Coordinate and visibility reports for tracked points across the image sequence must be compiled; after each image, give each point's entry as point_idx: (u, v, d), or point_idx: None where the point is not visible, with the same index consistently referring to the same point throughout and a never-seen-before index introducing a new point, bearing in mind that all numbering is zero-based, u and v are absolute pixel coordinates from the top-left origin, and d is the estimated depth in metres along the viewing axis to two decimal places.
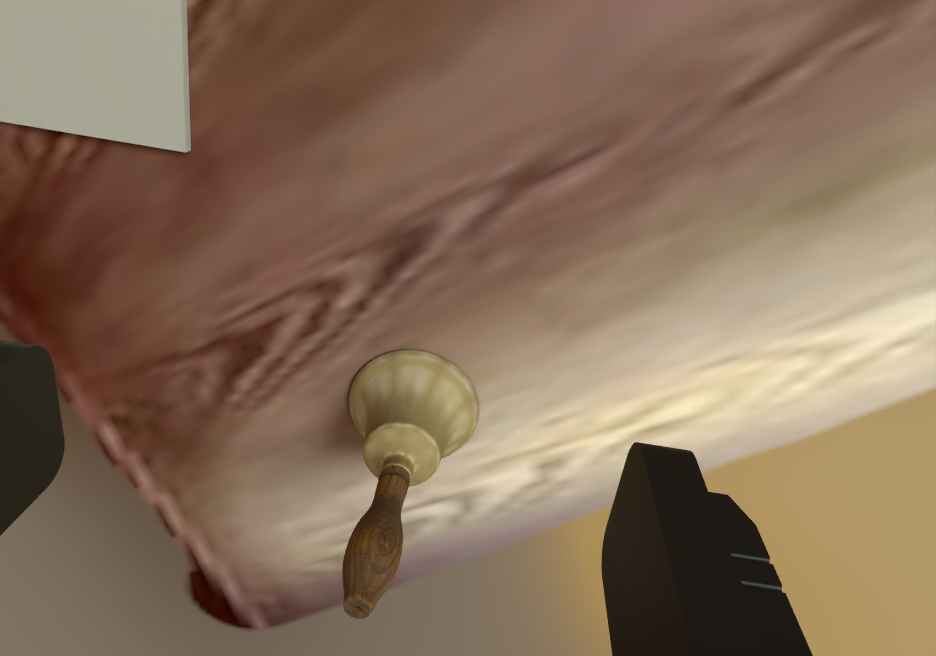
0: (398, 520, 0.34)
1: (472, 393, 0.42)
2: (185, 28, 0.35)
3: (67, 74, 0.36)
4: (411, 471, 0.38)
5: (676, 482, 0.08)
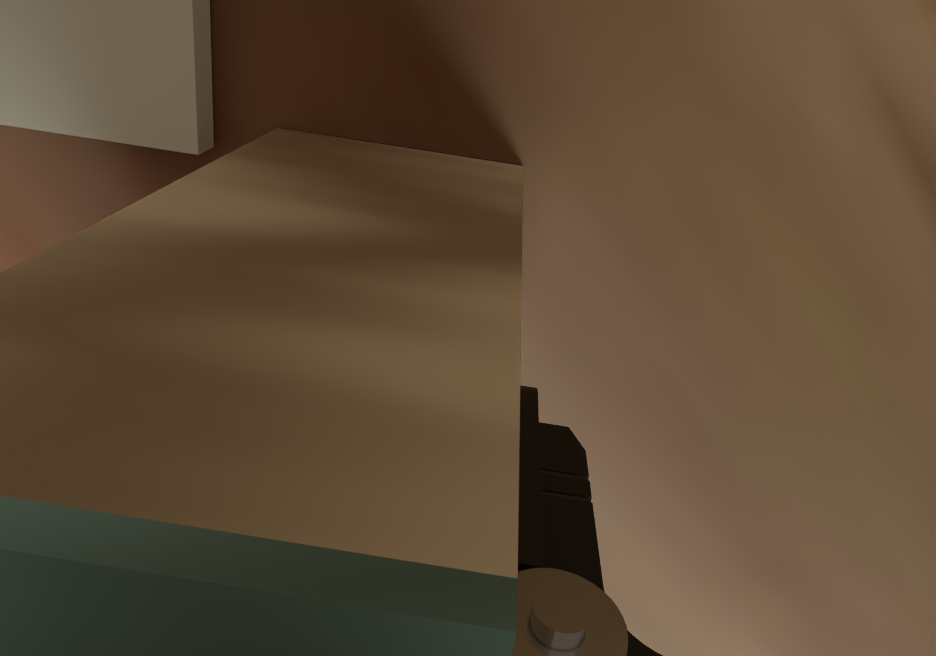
0: None
1: None
2: None
3: None
4: None
5: None
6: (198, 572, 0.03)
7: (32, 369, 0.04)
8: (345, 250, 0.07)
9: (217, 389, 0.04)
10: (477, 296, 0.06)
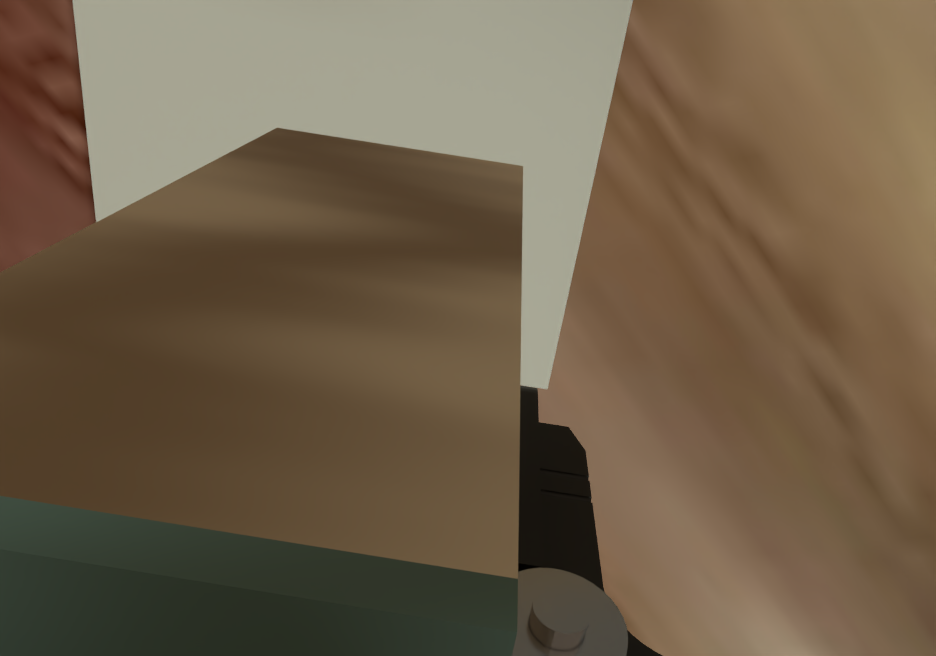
0: None
1: None
2: None
3: (172, 180, 0.25)
4: None
5: None
6: (198, 573, 0.03)
7: (32, 369, 0.04)
8: (345, 251, 0.07)
9: (218, 389, 0.04)
10: (478, 297, 0.06)
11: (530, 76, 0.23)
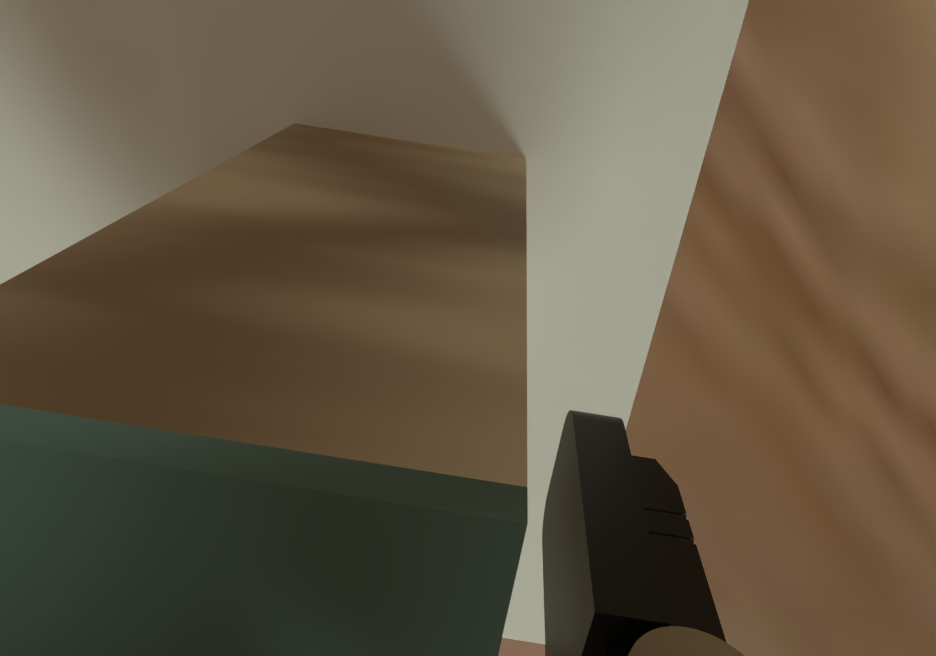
0: None
1: None
2: None
3: None
4: None
5: (601, 444, 0.09)
6: (267, 478, 0.04)
7: (107, 326, 0.05)
8: (366, 232, 0.07)
9: (267, 344, 0.05)
10: (487, 272, 0.07)
11: (537, 152, 0.12)
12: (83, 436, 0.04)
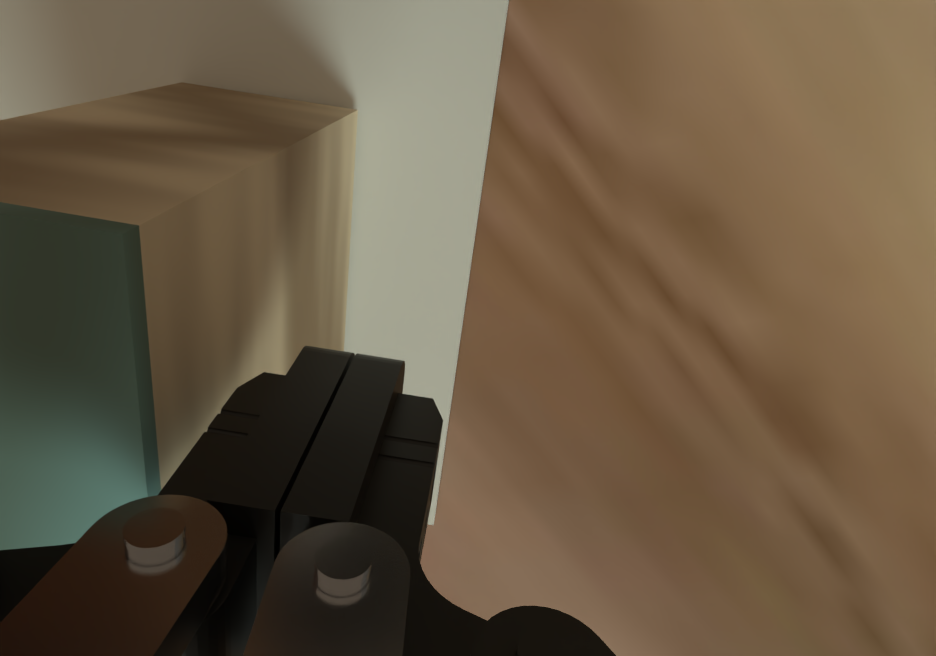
0: None
1: None
2: None
3: None
4: None
5: (368, 381, 0.09)
6: None
7: None
8: (166, 136, 0.11)
9: (41, 173, 0.08)
10: (233, 157, 0.10)
11: (367, 103, 0.15)
12: None
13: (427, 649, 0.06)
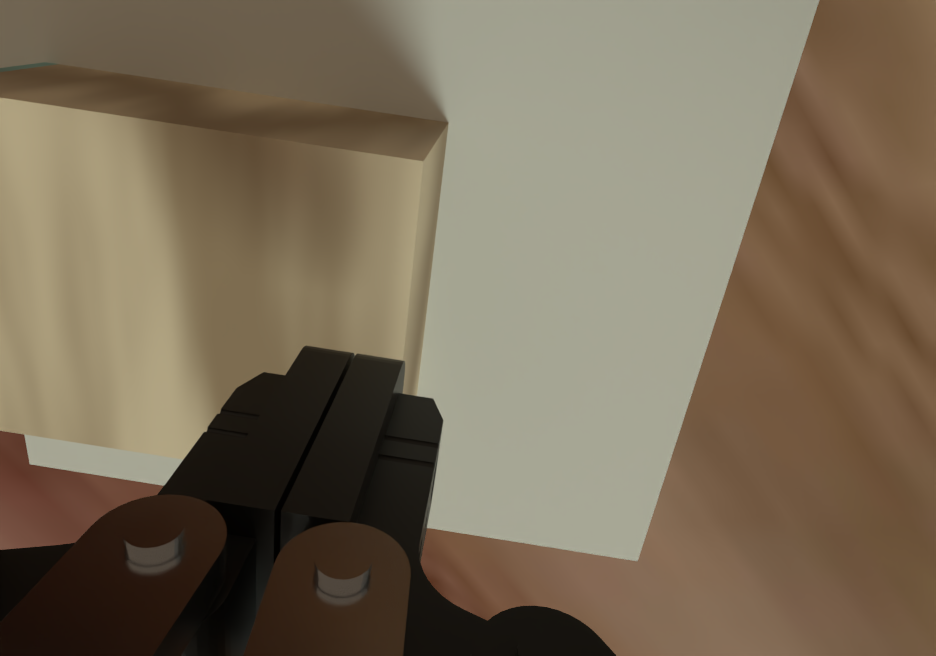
0: None
1: None
2: None
3: None
4: None
5: (369, 381, 0.09)
6: None
7: (77, 75, 0.14)
8: (180, 103, 0.13)
9: (48, 82, 0.13)
10: (111, 109, 0.12)
11: (640, 144, 0.15)
12: (2, 69, 0.14)
13: (427, 649, 0.06)
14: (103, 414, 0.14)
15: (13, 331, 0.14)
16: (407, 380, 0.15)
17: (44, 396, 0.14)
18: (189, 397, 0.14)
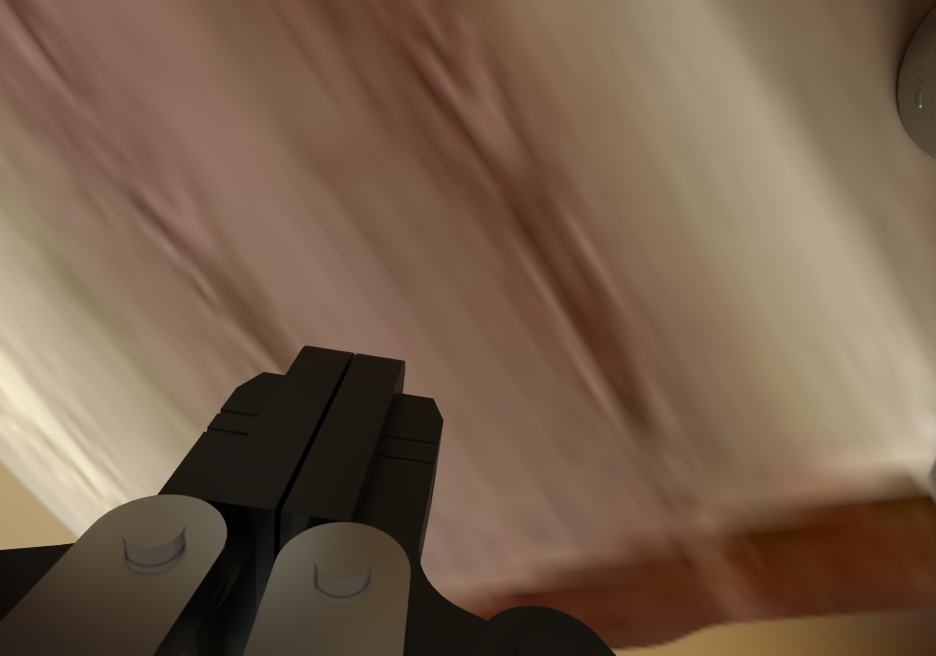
0: None
1: None
2: None
3: None
4: None
5: (368, 381, 0.09)
6: None
7: None
8: None
9: None
10: None
11: None
12: None
13: (427, 649, 0.06)
14: None
15: None
16: None
17: None
18: None
